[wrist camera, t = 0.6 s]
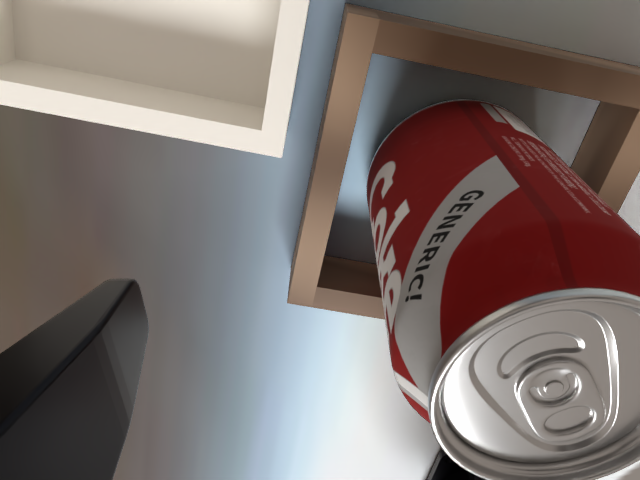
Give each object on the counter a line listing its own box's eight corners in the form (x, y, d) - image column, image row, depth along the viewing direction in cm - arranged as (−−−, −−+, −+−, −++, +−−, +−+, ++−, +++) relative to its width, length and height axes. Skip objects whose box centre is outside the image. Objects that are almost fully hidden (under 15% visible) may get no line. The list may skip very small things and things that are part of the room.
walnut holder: (528, 310, 25) (548, 346, 23) (290, 269, 24) (287, 302, 22) (644, 67, 20) (684, 85, 18) (345, 2, 19) (347, 12, 17)
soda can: (501, 59, 20) (699, 206, 9) (558, 208, 23) (758, 449, 12) (335, 146, 21) (343, 353, 11) (407, 274, 24) (469, 536, 14)
